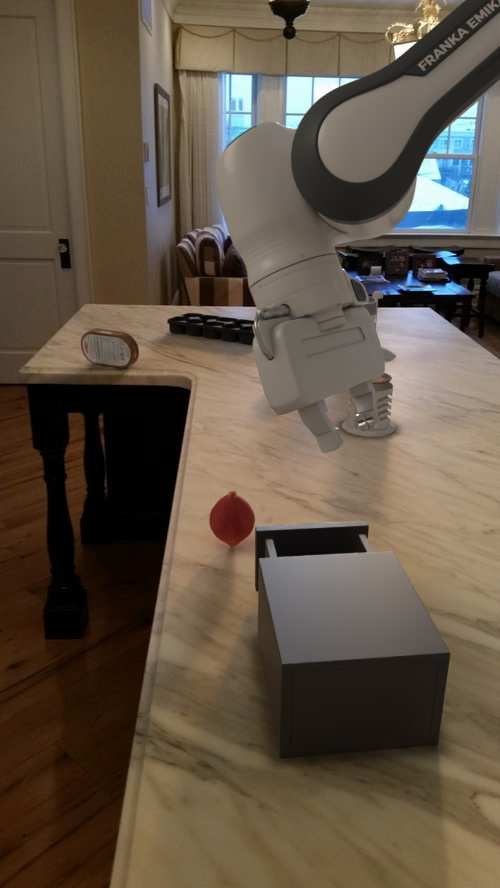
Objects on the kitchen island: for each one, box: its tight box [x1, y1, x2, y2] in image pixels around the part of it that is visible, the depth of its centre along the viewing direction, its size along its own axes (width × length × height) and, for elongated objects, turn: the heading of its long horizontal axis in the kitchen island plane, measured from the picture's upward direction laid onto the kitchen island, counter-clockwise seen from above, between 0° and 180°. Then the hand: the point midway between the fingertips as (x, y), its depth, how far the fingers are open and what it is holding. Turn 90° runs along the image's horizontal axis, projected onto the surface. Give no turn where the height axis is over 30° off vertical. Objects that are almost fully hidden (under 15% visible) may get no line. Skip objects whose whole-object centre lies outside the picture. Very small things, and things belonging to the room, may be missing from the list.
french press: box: [341, 290, 397, 437], centre depth 125 cm, size 10×12×25 cm
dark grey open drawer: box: [254, 520, 375, 593], centre depth 74 cm, size 16×13×8 cm
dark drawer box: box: [257, 550, 451, 759], centre depth 65 cm, size 16×14×10 cm
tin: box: [80, 327, 140, 369], centre depth 165 cm, size 15×3×8 cm, turn 65°
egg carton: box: [166, 312, 255, 345], centre depth 195 cm, size 18×30×4 cm, turn 72°
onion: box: [208, 489, 256, 547], centre depth 90 cm, size 6×6×8 cm
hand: (353, 438), depth 68 cm, fingers open, 8 cm apart
